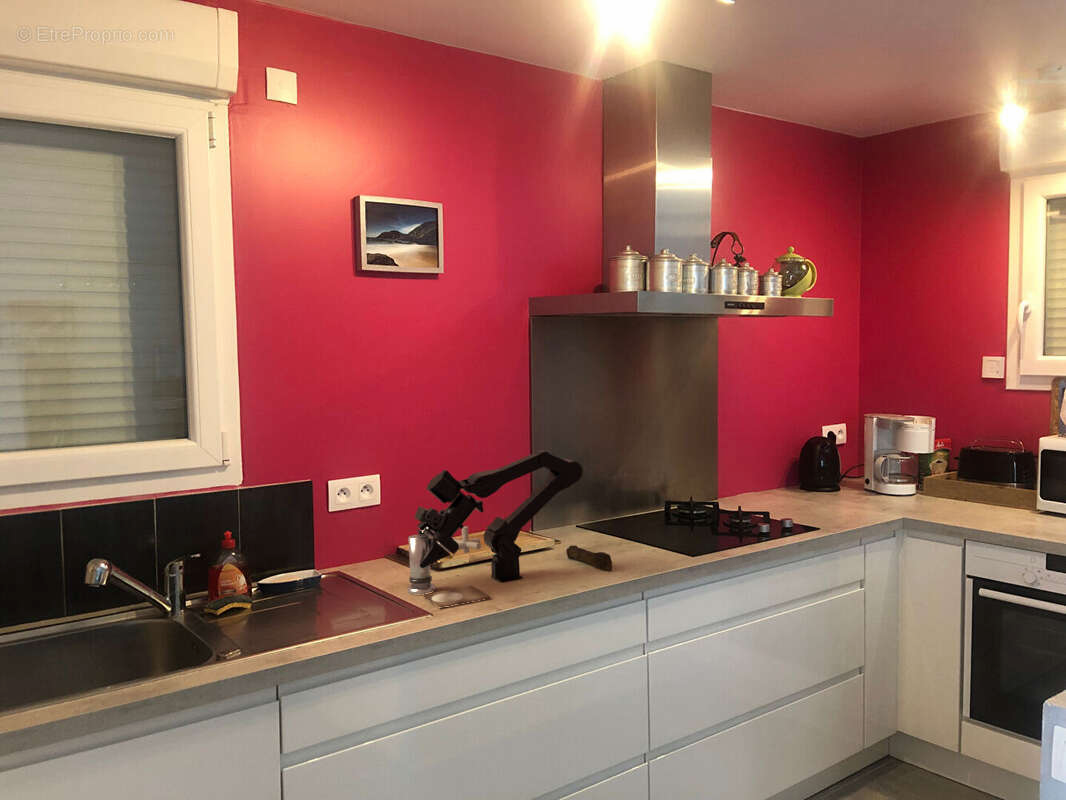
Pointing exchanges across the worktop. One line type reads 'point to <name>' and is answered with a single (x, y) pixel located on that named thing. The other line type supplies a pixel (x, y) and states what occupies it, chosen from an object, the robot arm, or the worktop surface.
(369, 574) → the worktop surface
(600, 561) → the hand tool
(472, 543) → the pipe connector
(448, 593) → the walnut board
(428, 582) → the silver flared cylinder
